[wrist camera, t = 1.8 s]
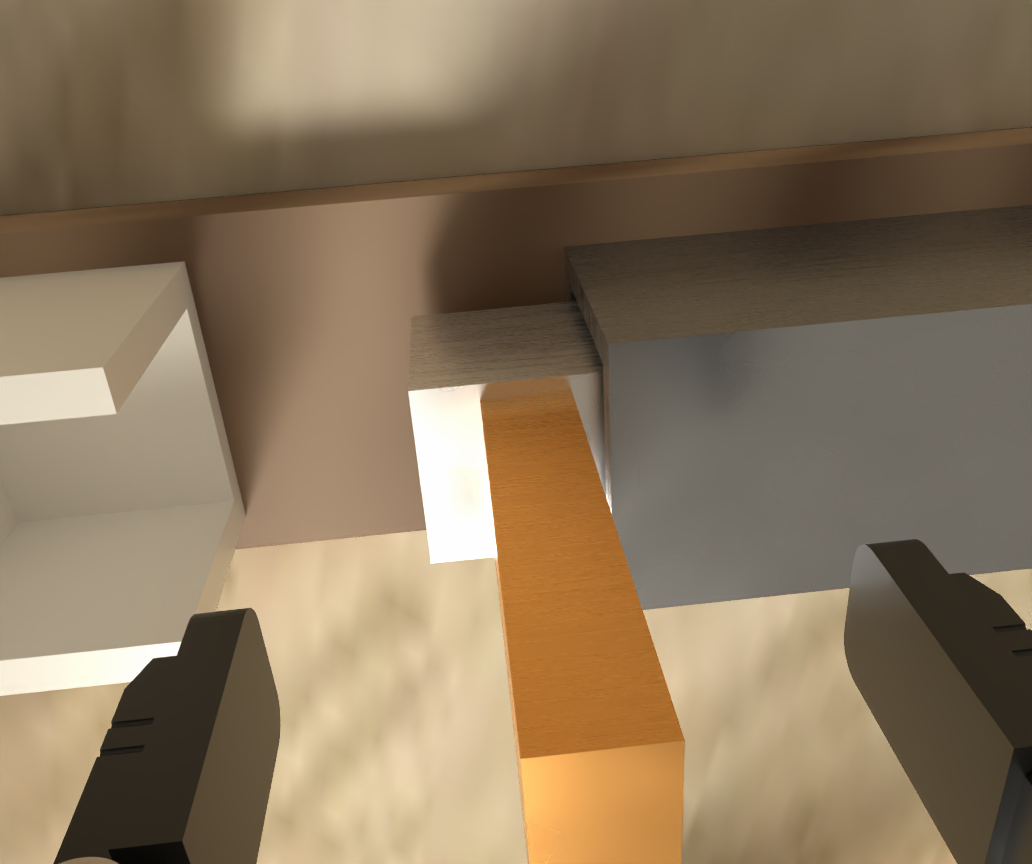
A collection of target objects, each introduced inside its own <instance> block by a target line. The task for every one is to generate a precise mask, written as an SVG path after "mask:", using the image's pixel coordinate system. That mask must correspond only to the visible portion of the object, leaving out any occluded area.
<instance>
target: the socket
mask: <svg viewBox="0 0 1032 864" xmlns="http://www.w3.org/2000/svg"><path fill="white" fill-rule="evenodd" d="M245 517H246V514H245V510H244V506H243V502H242V498H241V493H240V489H239V485H238V481H237V477H236V473H235V468H234V464H233V460H232V456H231V452H230V448H229V444H228V439H227V435H226V431H225V427H224V423H223V419H222V415H221V410H220V406H219V402H218V398H217V394H216V390H215V385H214V381H213V377H212V373H211V369H210V365H209V361H208V356H207V352H206V348H205V344H204V340H203V336H202V332H201V327H200V323H199V319H198V315H197V311H196V307H195V303H194V298H193V294H192V290H191V286H190V282H189V278H188V273H187V269H186V265H185V261H183V262H172V263H161V264H149V265H138V266H127V267H116V268H104V269H93V270H82V271H70V272H59V273H48V274H37V275H25V276H14V277H3V278H0V696H4V695H13V694H22V693H32V692H41V691H50V690H60V689H69V688H78V687H88V686H97V685H106V684H115V683H125V682H132V681H133V679H134V678H135V677H136V676H137V675H138V674H139V673H140V672H141V671H142V670H143V669H144V667H145V666H146V665H147V664H148V663H149V662H150V661H151V660H152V659H153V658H159V657H168V656H177V653H178V650H179V647H180V645H181V642H182V639H183V636H184V633H185V630H186V628H187V625H188V622H189V620H190V618H191V617H192V616H193V615H194V614H199V613H208V612H215V611H216V608H217V605H218V602H219V599H220V596H221V592H222V589H223V586H224V583H225V580H226V577H227V574H228V571H229V567H230V564H231V561H232V558H233V555H234V552H235V549H236V546H237V542H238V539H239V536H240V533H241V530H242V527H243V524H244V521H245Z"/></svg>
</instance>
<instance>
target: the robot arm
mask: <svg viewBox="0 0 1032 864" xmlns="http://www.w3.org/2000/svg"><path fill="white" fill-rule="evenodd" d="M844 646H845V654H846V659H847V663H848V667H849V670H850V673H851V675H852V678H853V680H854V682H855V684H856V686H857V687H858V689H859V691H860V693H861V694H862V696H863V698H864V700H865V701H866V703H867V705H868V707H869V708H870V710H871V712H872V714H873V716H874V717H875V719H876V721H877V723H878V724H879V726H880V728H881V730H882V731H883V733H884V735H885V737H886V738H887V740H888V742H889V744H890V746H891V747H892V749H893V751H894V753H895V754H896V756H897V758H898V760H899V761H900V763H901V765H902V767H903V768H904V770H905V772H906V774H907V776H908V777H909V779H910V781H911V783H912V784H913V786H914V788H915V790H916V791H917V793H918V795H919V797H920V799H921V800H922V802H923V804H924V806H925V807H926V809H927V811H928V813H929V814H930V816H931V818H932V820H933V821H934V823H935V825H936V827H937V829H938V830H939V832H940V834H941V836H942V837H943V839H944V841H945V843H946V844H947V846H948V848H949V850H950V851H951V853H952V855H953V857H954V859H955V860H956V862H957V864H1032V631H1031V630H1030V629H1029V630H1027V629H1026V627H1025V623H1024V622H1023V620H1022V619H1021V618H1020V617H1019V616H1018V615H1017V613H1016V612H1015V611H1014V610H1013V609H1012V608H1011V606H1010V605H1009V604H1008V603H1007V602H1006V601H1005V600H1004V598H1003V597H1002V596H1001V595H1000V594H998V593H996V592H995V591H993V590H992V589H990V588H988V587H987V586H985V585H984V584H982V583H980V582H979V581H977V580H976V579H974V578H972V577H971V576H969V575H968V574H966V573H954V574H949V573H948V572H947V571H946V570H945V568H944V567H943V566H942V565H941V564H940V562H939V561H938V560H937V559H936V557H935V556H934V555H933V554H932V552H931V551H930V550H929V549H928V547H927V546H926V545H925V544H924V543H923V542H921V541H920V540H917V539H911V540H901V541H892V542H882V543H873V544H864V545H860V546H859V547H858V548H857V550H856V552H855V555H854V560H853V567H852V575H851V583H850V591H849V599H848V607H847V615H846V623H845V631H844ZM111 724H112V727H111V729H108V731H107V734H106V736H105V739H104V741H103V744H102V746H101V749H100V757H97V758H96V761H95V763H94V766H93V768H92V771H91V773H90V776H89V778H88V780H87V783H86V785H85V788H84V790H83V793H82V795H81V798H80V800H79V803H78V805H77V807H76V810H75V812H74V815H73V817H72V820H71V822H70V825H69V827H68V830H67V832H66V834H65V837H64V839H63V842H62V844H61V847H60V849H59V852H58V854H57V857H56V859H55V861H54V863H53V864H256V862H257V857H258V852H259V846H260V841H261V836H262V830H263V825H264V820H265V815H266V809H267V804H268V799H269V793H270V788H271V783H272V778H273V772H274V767H275V762H276V756H277V751H278V746H279V739H280V708H279V700H278V695H277V690H276V686H275V683H274V679H273V675H272V671H271V667H270V663H269V659H268V656H267V652H266V648H265V644H264V640H263V636H262V632H261V629H260V625H259V621H258V618H257V615H256V613H255V611H254V610H253V609H252V608H246V609H236V610H227V611H218V612H208V613H199V614H194V615H193V616H192V617H191V618H190V620H189V622H188V625H187V628H186V630H185V633H184V636H183V639H182V642H181V645H180V647H179V650H178V653H177V656H168V657H159V658H153V659H152V660H151V661H150V662H149V663H148V664H147V665H146V666H145V667H144V669H143V670H142V671H141V672H140V673H139V674H138V675H137V676H136V677H135V678H134V679H133V681H132V682H131V683H130V684H129V685H128V686H127V687H126V688H125V690H124V692H123V695H122V697H121V700H120V702H119V704H118V707H117V709H116V712H115V714H114V717H113V719H112V722H111Z"/></svg>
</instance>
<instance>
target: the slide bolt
mask: <svg viewBox="0 0 1032 864" xmlns="http://www.w3.org/2000/svg"><path fill="white" fill-rule="evenodd" d="M408 394H409V401H410V409H411V416H412V424H413V431H414V439H415V446H416V454H417V461H418V469H419V476H420V483H421V491H422V498H423V506H424V513H425V521H426V528H427V536H428V543H429V551H430V558H431V563H440V562H450V561H459V560H469V559H479V558H488V557H495V563H496V572H497V582H498V591H499V600H500V609H501V618H502V628H503V637H504V646H505V655H506V664H507V674H508V683H509V692H510V701H511V710H512V720H513V729H514V738H515V747H516V756H517V766H518V775H519V784H520V793H521V802H522V812H523V821H524V830H525V839H526V848H527V858H528V864H681V861H682V822H683V783H684V744H685V740H684V737H683V734H682V731H681V728H680V725H679V722H678V719H677V715H676V712H675V709H674V706H673V703H672V700H671V697H670V694H669V691H668V688H667V684H666V681H665V678H664V675H663V672H662V669H661V666H660V663H659V660H658V656H657V653H656V650H655V647H654V644H653V641H652V638H651V635H650V632H649V629H648V625H647V622H646V619H645V616H644V613H643V610H642V607H641V604H640V601H639V598H638V594H637V591H636V588H635V585H634V582H633V579H632V576H631V573H630V570H629V566H628V563H627V560H626V557H625V554H624V551H623V548H622V545H621V542H620V539H619V535H618V532H617V529H616V526H615V523H614V520H613V517H612V514H611V511H610V508H609V504H608V501H607V498H606V477H605V436H604V396H603V363H602V361H601V358H600V356H599V353H598V351H597V349H596V346H595V344H594V341H593V339H592V337H591V334H590V332H589V329H588V327H587V325H586V322H585V320H584V317H583V315H582V313H581V310H580V308H579V305H578V303H577V301H573V302H562V303H551V304H540V305H530V306H519V307H508V308H497V309H486V310H475V311H465V312H454V313H443V314H432V315H421V316H412V317H411V339H410V361H409V383H408Z"/></svg>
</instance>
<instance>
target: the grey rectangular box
mask: <svg viewBox="0 0 1032 864" xmlns="http://www.w3.org/2000/svg"><path fill="white" fill-rule="evenodd" d="M564 254H565V277H566V300H567V302H573V301H577V303H578V305H579V308H580V310H581V313H582V315H583V317H584V320H585V322H586V325H587V327H588V329H589V332H590V334H591V337H592V339H593V341H594V344H595V346H596V349H597V351H598V353H599V356H600V358H601V361H602V363H603V396H604V436H605V477H606V498H607V501H608V504H609V508H610V511H611V514H612V517H613V520H614V523H615V526H616V529H617V532H618V535H619V539H620V542H621V545H622V548H623V551H624V554H625V557H626V560H627V563H628V566H629V570H630V573H631V576H632V579H633V582H634V585H635V588H636V591H637V594H638V598H639V601H640V604H641V607H642V610H646V609H656V608H665V607H674V606H684V605H693V604H702V603H712V602H721V601H731V600H740V599H749V598H759V597H768V596H777V595H787V594H796V593H805V592H815V591H824V590H833V589H843V588H850V583H851V575H852V567H853V560H854V555H855V552H856V550H857V548H858V547H859V546H860V545H864V544H873V543H882V542H892V541H901V540H911V539H917V540H920V541H921V542H923V543H924V544H925V545H926V546H927V547H928V549H929V550H930V551H931V552H932V554H933V555H934V556H935V557H936V559H937V560H938V561H939V562H940V564H941V565H942V566H943V567H944V568H945V570H946V571H947V572H948V573H949V574H954V573H966V574H968V575H974V574H983V573H993V572H1002V571H1011V570H1021V569H1030V568H1032V205H1022V206H1011V207H999V208H988V209H977V210H966V211H955V212H944V213H933V214H921V215H910V216H899V217H888V218H877V219H866V220H854V221H843V222H832V223H821V224H810V225H799V226H787V227H776V228H765V229H754V230H743V231H732V232H721V233H709V234H698V235H687V236H676V237H665V238H654V239H642V240H631V241H620V242H609V243H598V244H587V245H575V246H564Z"/></svg>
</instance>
